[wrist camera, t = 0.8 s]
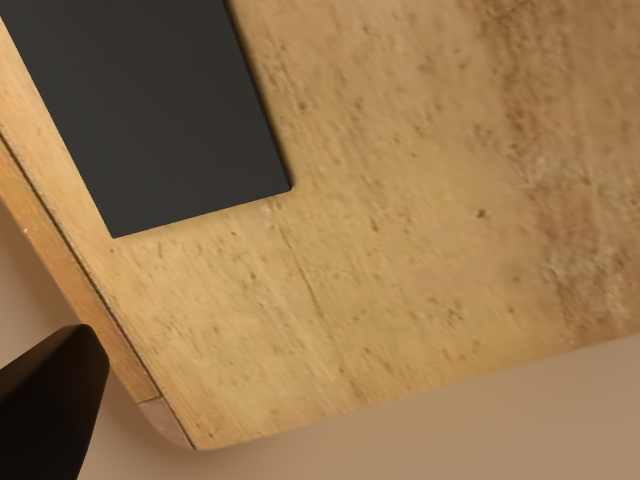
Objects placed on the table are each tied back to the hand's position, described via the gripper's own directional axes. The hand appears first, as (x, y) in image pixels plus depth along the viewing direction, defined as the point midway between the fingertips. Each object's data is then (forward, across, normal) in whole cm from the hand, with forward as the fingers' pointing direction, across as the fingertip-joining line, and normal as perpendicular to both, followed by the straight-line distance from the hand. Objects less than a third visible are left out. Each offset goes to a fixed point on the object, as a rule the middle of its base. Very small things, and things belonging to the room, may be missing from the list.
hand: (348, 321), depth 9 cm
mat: (+15, +10, 0) cm, 18 cm away
